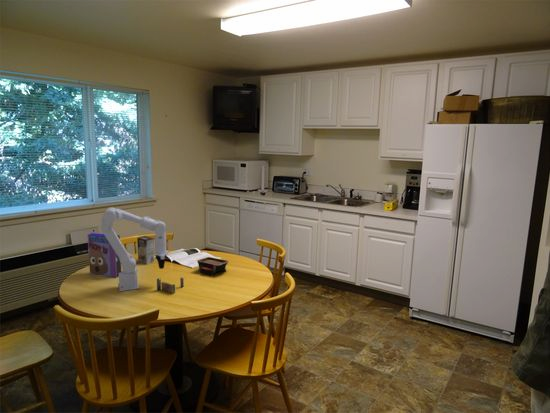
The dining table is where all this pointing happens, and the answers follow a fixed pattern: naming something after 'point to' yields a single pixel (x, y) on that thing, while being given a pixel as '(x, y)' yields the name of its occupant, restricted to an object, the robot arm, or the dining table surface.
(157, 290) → the gate posts
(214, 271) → the dark rectangular container
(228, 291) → the dining table surface
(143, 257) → the coffee box
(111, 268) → the cereal box
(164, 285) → the brown wooden block
